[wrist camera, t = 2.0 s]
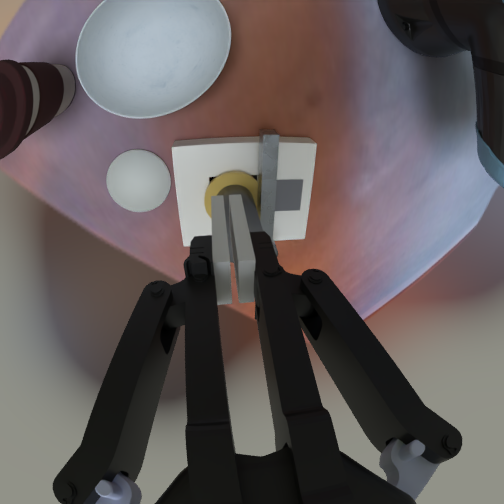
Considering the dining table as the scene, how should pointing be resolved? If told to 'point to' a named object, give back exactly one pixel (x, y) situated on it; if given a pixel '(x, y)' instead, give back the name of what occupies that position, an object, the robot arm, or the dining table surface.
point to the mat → (138, 180)
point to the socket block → (244, 160)
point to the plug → (233, 186)
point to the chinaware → (151, 54)
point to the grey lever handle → (267, 180)
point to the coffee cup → (30, 99)
